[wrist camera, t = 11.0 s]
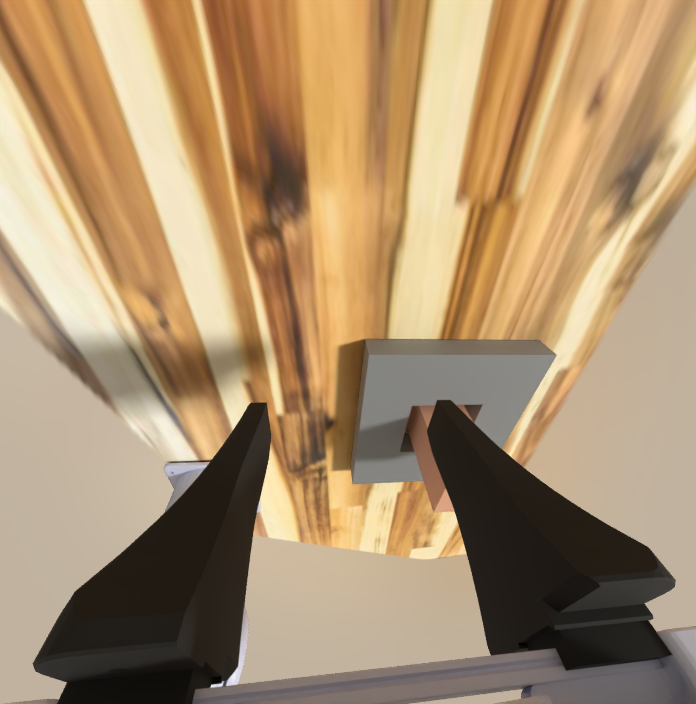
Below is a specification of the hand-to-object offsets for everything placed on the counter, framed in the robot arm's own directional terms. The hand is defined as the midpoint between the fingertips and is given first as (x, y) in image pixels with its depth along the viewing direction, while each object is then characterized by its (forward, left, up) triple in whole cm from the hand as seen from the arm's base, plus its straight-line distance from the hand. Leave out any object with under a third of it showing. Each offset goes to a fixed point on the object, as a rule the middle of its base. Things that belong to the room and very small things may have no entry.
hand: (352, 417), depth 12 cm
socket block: (-10, -9, -9) cm, 16 cm away
